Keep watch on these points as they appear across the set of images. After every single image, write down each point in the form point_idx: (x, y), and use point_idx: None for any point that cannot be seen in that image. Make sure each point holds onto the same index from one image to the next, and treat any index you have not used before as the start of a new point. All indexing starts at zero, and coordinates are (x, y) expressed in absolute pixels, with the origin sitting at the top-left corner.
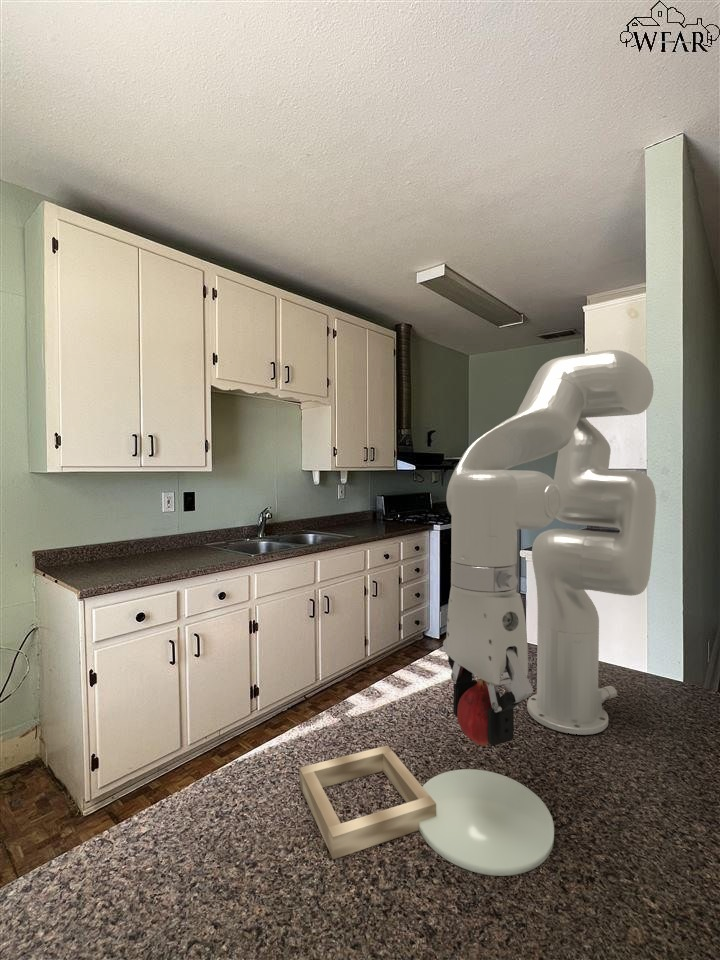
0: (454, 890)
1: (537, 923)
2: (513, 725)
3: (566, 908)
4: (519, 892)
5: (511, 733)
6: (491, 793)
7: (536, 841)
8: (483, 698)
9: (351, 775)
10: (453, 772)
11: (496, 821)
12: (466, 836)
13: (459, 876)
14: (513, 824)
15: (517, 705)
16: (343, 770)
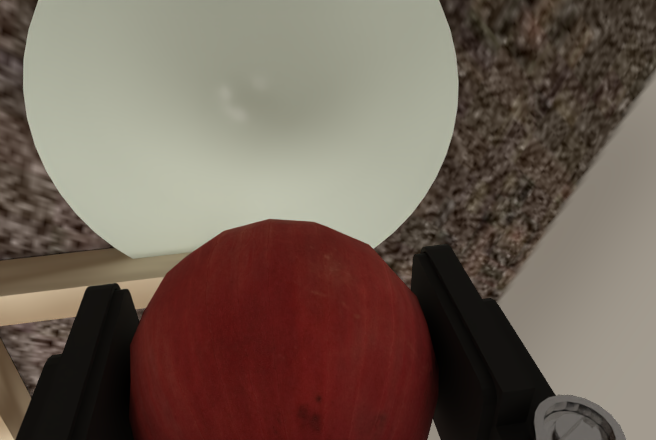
0: (409, 265)
1: (541, 162)
2: (474, 287)
3: (556, 85)
4: (476, 155)
5: (496, 305)
6: (185, 50)
7: (417, 45)
8: None
9: (10, 373)
10: (39, 119)
11: (308, 109)
12: (324, 208)
13: (387, 245)
14: (338, 68)
15: (610, 419)
16: (11, 406)
